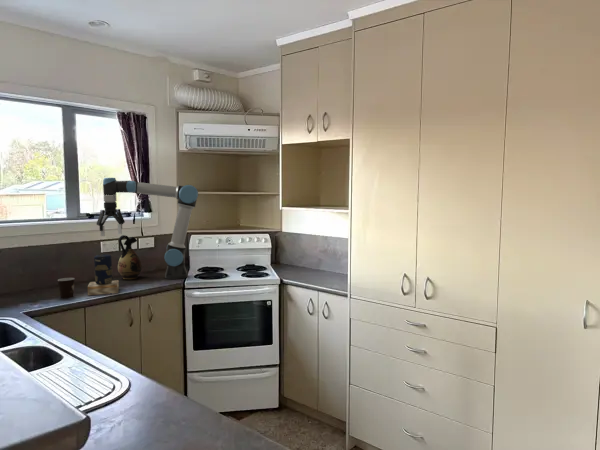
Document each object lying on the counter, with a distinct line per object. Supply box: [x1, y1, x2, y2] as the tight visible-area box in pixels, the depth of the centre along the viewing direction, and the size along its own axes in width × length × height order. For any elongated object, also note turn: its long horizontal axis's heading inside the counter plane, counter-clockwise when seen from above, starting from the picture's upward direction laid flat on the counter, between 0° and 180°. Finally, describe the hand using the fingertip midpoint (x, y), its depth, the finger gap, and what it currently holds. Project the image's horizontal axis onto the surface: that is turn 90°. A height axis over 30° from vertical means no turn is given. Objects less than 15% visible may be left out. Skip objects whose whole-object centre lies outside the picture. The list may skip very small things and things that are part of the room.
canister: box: [93, 253, 113, 284], centre depth 266 cm, size 10×10×18 cm
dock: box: [87, 279, 120, 296], centre depth 267 cm, size 16×14×5 cm
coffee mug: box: [57, 277, 75, 299], centre depth 257 cm, size 12×9×10 cm
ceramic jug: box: [117, 234, 143, 280], centre depth 306 cm, size 17×15×30 cm
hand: (111, 235), depth 287 cm, fingers open, 13 cm apart
